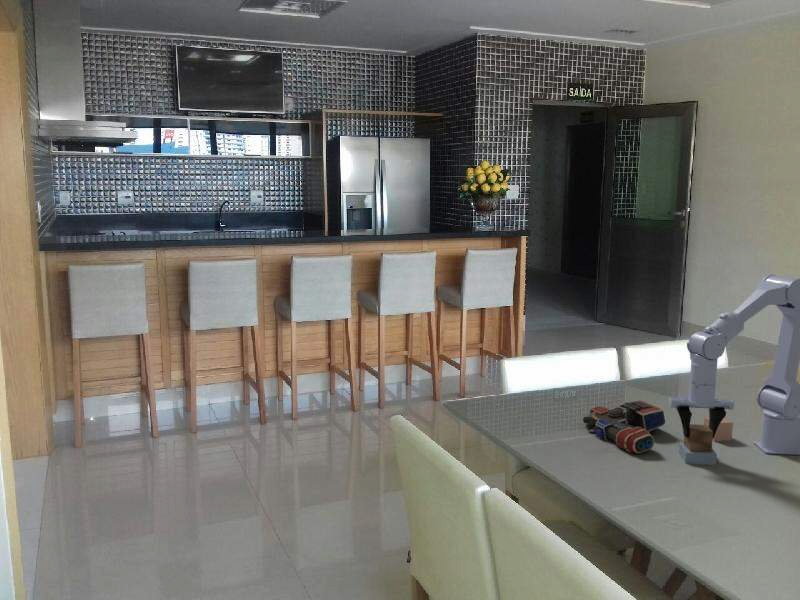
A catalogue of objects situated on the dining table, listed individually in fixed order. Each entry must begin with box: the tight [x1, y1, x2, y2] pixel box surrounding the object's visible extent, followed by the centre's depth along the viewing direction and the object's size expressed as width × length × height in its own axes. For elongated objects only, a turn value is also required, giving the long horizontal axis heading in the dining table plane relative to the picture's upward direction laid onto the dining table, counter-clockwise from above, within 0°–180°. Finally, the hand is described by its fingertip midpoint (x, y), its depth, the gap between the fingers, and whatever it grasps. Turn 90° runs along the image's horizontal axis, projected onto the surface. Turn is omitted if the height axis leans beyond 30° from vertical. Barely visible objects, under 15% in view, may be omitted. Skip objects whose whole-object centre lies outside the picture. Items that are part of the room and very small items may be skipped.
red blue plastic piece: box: [582, 399, 666, 454], centre depth 188 cm, size 8×25×20 cm
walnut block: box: [683, 423, 713, 452], centre depth 173 cm, size 5×5×5 cm
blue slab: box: [678, 442, 718, 466], centre depth 173 cm, size 7×7×3 cm
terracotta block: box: [703, 416, 734, 442], centre depth 188 cm, size 5×5×5 cm
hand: (698, 436), depth 172 cm, fingers open, 5 cm apart
